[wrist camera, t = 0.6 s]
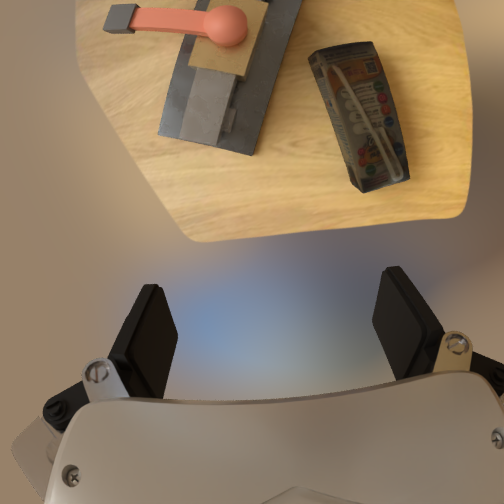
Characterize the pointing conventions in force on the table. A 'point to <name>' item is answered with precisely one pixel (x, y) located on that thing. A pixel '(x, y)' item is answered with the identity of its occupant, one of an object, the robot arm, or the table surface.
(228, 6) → the lever
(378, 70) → the beverage carton
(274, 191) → the table surface
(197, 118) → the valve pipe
